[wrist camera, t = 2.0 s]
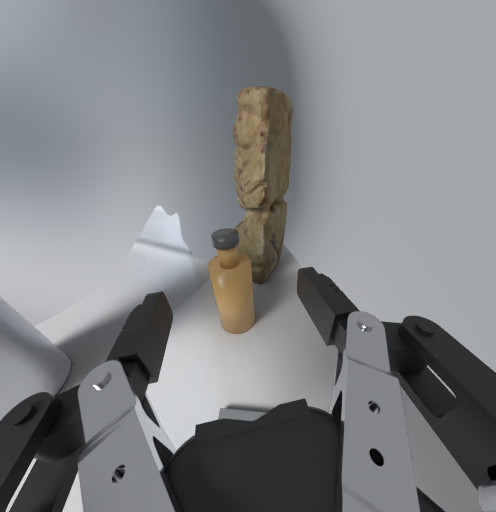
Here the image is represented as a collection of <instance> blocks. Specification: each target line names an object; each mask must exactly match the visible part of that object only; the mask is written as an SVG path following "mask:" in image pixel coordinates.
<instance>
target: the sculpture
mask: <svg viewBox="0 0 496 512" xmlns="http://www.w3.org/2000/svg"><path fill="white" fill-rule="evenodd" d="M237 105H238V116H237V118H236V121H235V124H234V133H233V138H234V142H235V144H236V146H237V149H236V150H235V155H234V157H235V160H236V162H235V175H234V180H235V182H236V192H237V198H238V202H239V204H240V206H241V207H242V208H243V209H245V211H246V213H245V218H244V221H242V222H241V223H239V224H238V225H237V227H236V228H235V230H237V231H238V233H239V244H238V245H237V246H238V253H243V254H245V255H247V256H248V257H249V258H250V260H251V271H252V281H253V282H255V283H264V282H265V281H266V280H267V278H268V277H269V275H270V274H271V272H272V271H273V269H274V267H275V265H276V264H277V262H278V260H279V257H280V255H281V250H282V244H283V238H284V232H285V224H286V214H287V213H286V212H287V203H286V202H285V201H284V200H283V196H284V195H285V193H286V191H287V189H288V185H289V171H290V170H289V169H290V159H291V122H292V113H293V104H292V101H291V99H290V98H289V97H288V96H287V95H285V94H284V93H283V92H281V91H279V90H277V89H275V88H271V87H266V86H265V87H264V86H262V87H261V86H259V87H247V88H245V89H242V90H240V91H239V93H238V97H237Z"/></svg>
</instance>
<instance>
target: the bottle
mask: <svg viewBox="0 0 496 512" xmlns="http://www.w3.org/2000/svg"><path fill="white" fill-rule="evenodd" d="M212 242H213V246H214V247H215V248H216V249H217V254H218V256H216V257H214V258H213V259H212V260H211V261H210V262H209V264H208V270H209V274H210V279H211V283H212V287H213V291H214V296H215V300H216V304H217V308H218V313H219V317H220V321H221V325H222V327H223V328H224V330H226V331H227V332H229V333H232V334H240V333H244V332H246V331H248V330H249V329H250V328H251V327H252V326H253V324H254V321H255V311H254V298H253V284H252V271H251V260H250V258H249V257H248V256H247V255H245V254H243V253H238V246H237V245H238V244H239V233H238V231H237V230H235V229H221V230H217V231H215V232H214V233H213V234H212Z"/></svg>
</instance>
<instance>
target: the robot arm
mask: <svg viewBox="0 0 496 512" xmlns="http://www.w3.org/2000/svg"><path fill="white" fill-rule="evenodd" d="M297 293H298V296H299V298H300V300H301V302H302V303H303V305H304V307H305V309H306V310H307V312H308V314H309V316H310V317H311V319H312V321H313V322H314V324H315V326H316V328H317V329H318V331H319V333H320V335H321V336H322V338H323V340H324V341H325V343H326V345H327V346H329V345H334V344H335V346H336V347H337V349H338V350H337V355H336V365H335V374H334V383H333V391H332V396H331V401H330V407H329V413H328V412H326V411H323V410H321V409H318V408H314V407H309V406H308V405H307V403H306V400H305V399H301V400H297V401H292V402H288V403H284V404H280V405H278V406H277V407H275V408H273V409H272V410H270V411H269V412H267V413H266V414H264V415H263V416H261V417H259V418H258V419H256V420H254V421H246V420H236V419H226V418H223V419H219V420H215V421H211V422H207V423H203V424H199V425H196V430H195V435H194V436H192V437H191V438H190V439H188V440H187V441H186V442H185V443H184V444H183V445H182V446H181V447H180V448H179V449H178V450H177V451H176V450H175V448H174V446H173V444H172V442H171V440H170V439H169V437H168V436H167V434H166V433H165V431H164V429H163V427H162V425H161V423H160V421H159V419H158V416H157V414H156V412H155V410H154V408H153V406H152V404H151V402H150V400H149V397H148V395H147V394H146V390H147V386H148V384H150V383H155V382H158V378H159V374H160V370H161V365H162V361H163V357H164V353H165V349H166V345H167V341H168V337H169V333H170V329H171V324H172V320H173V314H172V310H171V308H170V305H169V303H168V301H167V299H166V296H165V294H164V293H163V292H157V293H151V294H147V295H146V297H145V299H144V302H143V304H142V305H138V306H137V307H136V308H135V309H134V310H133V311H132V312H131V313H130V315H129V317H128V319H127V321H126V324H125V325H124V327H123V329H122V331H121V333H120V335H119V337H118V338H117V340H116V342H115V344H114V346H113V348H112V350H111V352H110V354H109V356H108V358H107V360H106V362H104V363H102V364H100V365H99V366H97V367H96V368H94V369H93V370H92V371H91V372H90V373H89V374H88V375H87V376H86V377H85V378H84V380H83V381H82V383H81V384H80V385H78V386H76V387H74V388H71V389H69V390H67V391H65V392H63V393H61V394H59V395H57V396H55V395H56V394H57V392H58V391H59V390H60V388H61V387H62V386H63V384H64V382H65V381H66V379H67V377H68V375H69V372H70V369H71V361H70V359H69V358H68V356H66V355H65V354H64V353H63V352H62V351H61V350H60V349H59V348H57V347H56V346H55V345H54V344H53V343H52V342H51V341H50V340H49V339H47V338H46V337H45V336H44V335H43V334H42V333H41V332H40V331H38V330H37V329H36V328H35V327H34V326H33V325H32V324H30V323H29V322H28V321H27V320H26V319H25V318H24V317H23V316H21V315H20V314H19V313H18V312H17V311H16V310H15V309H13V308H12V307H11V306H10V305H9V304H8V303H7V302H6V301H4V300H3V299H2V298H1V297H0V512H6V509H7V506H8V504H9V502H10V500H11V498H12V497H13V495H14V493H15V491H16V489H17V487H18V486H19V484H20V482H21V480H22V478H23V476H24V475H25V473H26V471H27V469H28V467H29V465H30V464H31V462H32V460H33V458H34V459H37V460H36V462H35V464H34V466H33V468H32V469H31V471H30V473H29V475H28V477H27V479H26V481H25V483H24V484H23V486H22V488H21V490H20V492H19V494H18V496H17V498H16V499H15V501H14V503H13V505H12V507H11V509H10V511H9V512H62V511H63V508H64V505H65V503H66V500H67V498H68V495H69V492H70V490H71V487H72V485H73V482H74V480H75V477H76V474H77V472H79V480H80V487H81V495H82V503H83V511H84V512H445V511H444V510H443V509H442V508H440V507H439V506H438V505H437V504H436V503H435V502H434V501H432V500H431V499H430V498H429V497H428V496H427V495H425V494H424V493H423V492H422V491H421V490H420V489H419V488H417V487H416V483H415V477H414V471H413V464H412V458H411V452H410V446H409V439H408V433H407V427H406V421H405V414H404V408H403V402H402V396H401V389H400V385H401V387H402V388H403V390H404V391H405V392H406V394H407V395H408V396H409V398H410V399H411V400H412V402H413V403H414V404H415V406H416V407H417V409H418V410H419V411H420V413H421V414H422V415H423V417H424V418H425V419H426V421H427V422H428V423H429V425H430V426H431V428H432V429H433V430H434V432H435V433H436V434H437V436H438V437H439V438H440V440H441V441H442V442H443V444H444V445H445V447H446V448H447V449H448V451H449V452H450V453H451V455H452V456H453V457H454V459H455V460H456V461H457V463H458V464H459V466H460V467H461V468H462V470H463V471H464V472H465V474H466V475H467V476H468V478H469V479H470V481H471V482H472V483H473V485H474V486H475V487H476V489H477V490H478V492H477V496H478V501H479V505H480V508H481V510H482V512H496V373H495V372H494V371H493V370H492V369H490V368H489V367H488V366H487V365H486V364H484V363H483V362H482V361H481V360H480V359H478V358H477V357H476V356H475V355H474V354H472V353H471V352H470V351H469V350H468V349H466V348H465V347H464V346H463V345H462V344H460V343H459V342H458V341H457V340H456V339H454V338H453V337H452V336H451V335H450V334H448V333H447V332H446V331H445V330H443V329H442V328H441V327H440V326H439V325H437V324H436V323H434V322H432V321H430V320H428V319H426V318H423V317H419V316H407V317H405V319H404V320H403V322H402V323H392V322H381V321H379V319H377V318H376V317H375V316H373V315H371V314H369V313H366V312H362V311H359V310H358V309H357V307H356V306H355V305H354V304H353V303H352V302H351V301H350V300H349V299H348V298H347V296H346V295H345V294H344V293H343V292H342V291H340V289H339V288H338V287H337V286H336V284H335V283H334V282H333V281H332V280H331V279H330V278H329V277H327V276H325V275H324V274H318V273H317V272H316V271H315V269H314V268H313V267H308V268H301V269H299V270H298V280H297ZM427 365H428V366H429V367H430V368H431V369H432V370H433V371H434V372H435V373H436V374H437V375H438V376H439V377H440V378H441V379H442V381H443V382H445V383H446V385H447V386H448V387H449V388H450V389H451V390H452V392H453V393H454V394H455V396H456V398H457V399H456V398H455V397H454V396H453V395H452V394H451V392H450V391H448V389H447V388H446V387H445V386H444V385H443V384H442V383H441V381H440V380H439V379H438V378H437V377H436V376H435V375H434V374H433V373H432V372H431V371H430V370H429V369H428V368H427ZM391 373H392V374H391ZM54 396H55V397H54Z"/></svg>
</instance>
